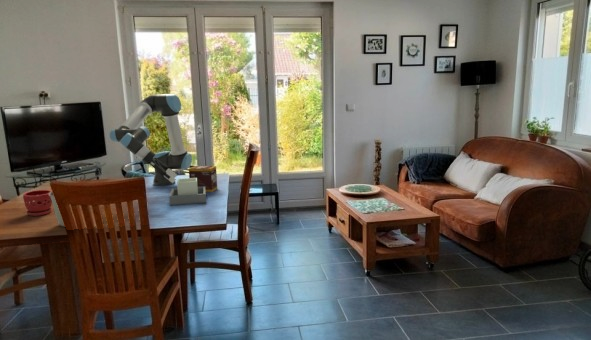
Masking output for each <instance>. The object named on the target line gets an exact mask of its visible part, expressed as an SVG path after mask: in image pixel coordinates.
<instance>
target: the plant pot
mask: <svg viewBox="0 0 591 340" xmlns="http://www.w3.org/2000/svg"><path fill="white" fill-rule="evenodd" d="M52 191H53V190H50V189H46V190H45V189H39V190H31V191H27V192H24V193H23V194H22V198H23V202H24V203H23V204H24V206H25V208H26V209H27V211H26V214H27V215H28V216H32V217H34V216H35V217H37V216H44V215H48V214H50V213H51V212H52V211H53V209H52V206H53V204H52V200H51V196H49V193H51V192H52Z"/></svg>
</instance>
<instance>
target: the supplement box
mask: <svg viewBox="0 0 591 340" xmlns="http://www.w3.org/2000/svg"><path fill="white" fill-rule="evenodd" d="M188 178H197V186H198V187H205V190H206V193H213V192H214V191H215V190H218V176H217V165H194V166H190V167H189V168H188Z"/></svg>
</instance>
